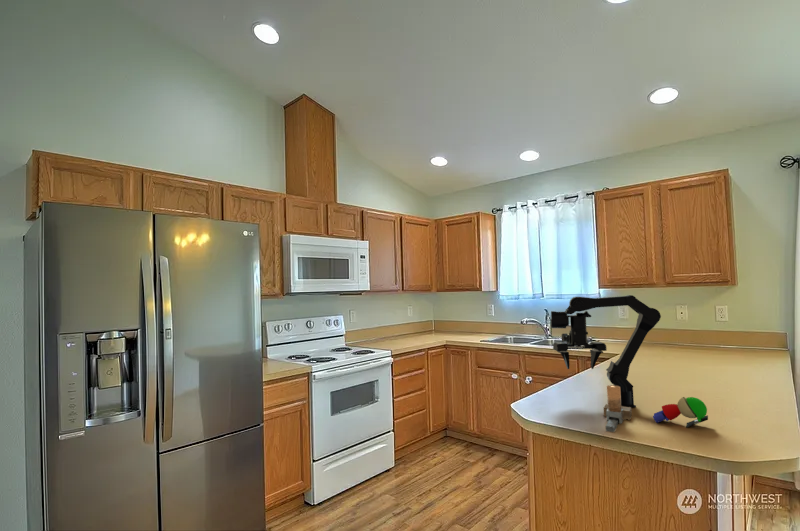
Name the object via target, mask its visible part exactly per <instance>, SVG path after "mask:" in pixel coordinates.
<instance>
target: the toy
mask: <svg viewBox="0 0 800 531" xmlns="http://www.w3.org/2000/svg"><path fill="white" fill-rule="evenodd" d="M707 414H708V408H707V406H706V404H705V403H704V402H703V401H702V400H701V399H699V398H698V397H693V396H691V397H690V396H689V397H685V396H683V397H681V398H680V399H679V400H678V401H677V404H675V403H669V404H664V405H662V406H661V410H660V411H658V412H657V411H656V412H655V413H653V415H652V418H653V420H654V421H655V423H660V422H663V421H666V422H668V421H673V420H676V418H678V417H679V416H681V415H682V416H683V417H685V418H688V419H694V420H691V421H688V422H686V426H685V428H686V429H687V428H690V427H692V426H694V425H698V424H700V423H703V422H705V421H708V420H709V415H707Z"/></svg>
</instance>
